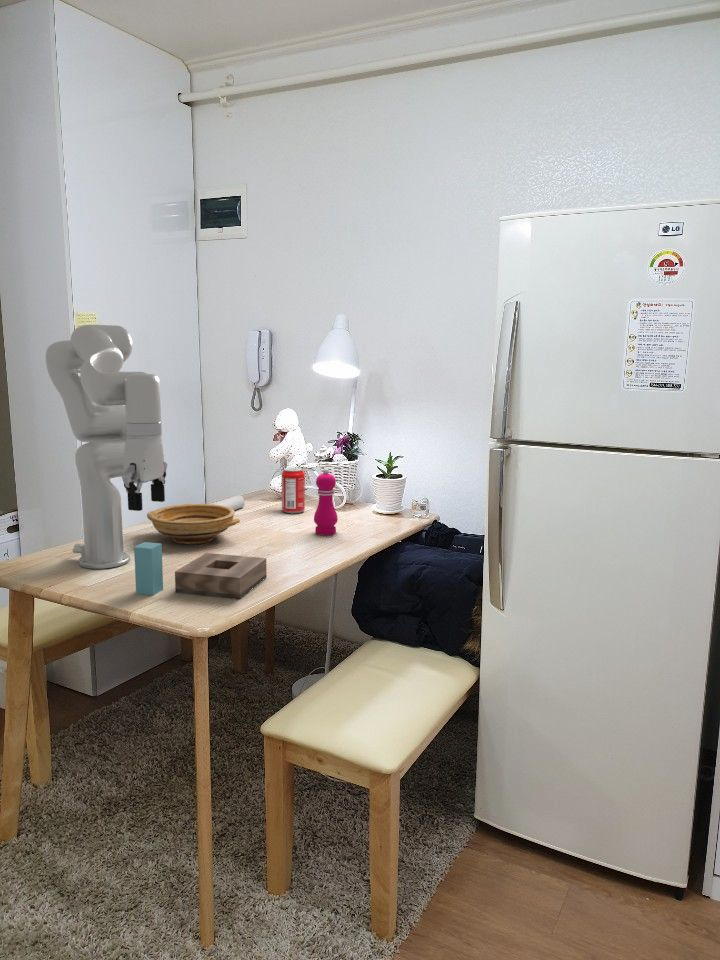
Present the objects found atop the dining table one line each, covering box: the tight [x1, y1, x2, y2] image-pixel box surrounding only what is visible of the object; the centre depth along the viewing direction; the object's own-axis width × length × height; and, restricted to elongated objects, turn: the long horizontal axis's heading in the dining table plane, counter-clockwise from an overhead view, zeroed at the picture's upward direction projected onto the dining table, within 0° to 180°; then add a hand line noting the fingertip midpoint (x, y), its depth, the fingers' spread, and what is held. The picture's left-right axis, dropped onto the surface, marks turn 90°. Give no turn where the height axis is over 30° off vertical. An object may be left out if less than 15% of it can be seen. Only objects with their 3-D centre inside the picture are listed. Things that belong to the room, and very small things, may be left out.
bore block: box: [174, 552, 268, 600], centre depth 172 cm, size 16×16×5 cm
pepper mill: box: [313, 467, 338, 536], centre depth 220 cm, size 7×7×20 cm
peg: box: [133, 541, 164, 596], centre depth 167 cm, size 4×4×11 cm
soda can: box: [281, 467, 306, 515], centre depth 248 cm, size 8×8×15 cm
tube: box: [212, 494, 246, 511], centre depth 245 cm, size 5×5×25 cm
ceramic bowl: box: [146, 503, 241, 544], centre depth 213 cm, size 30×24×8 cm
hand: (147, 505), depth 164 cm, fingers open, 9 cm apart
